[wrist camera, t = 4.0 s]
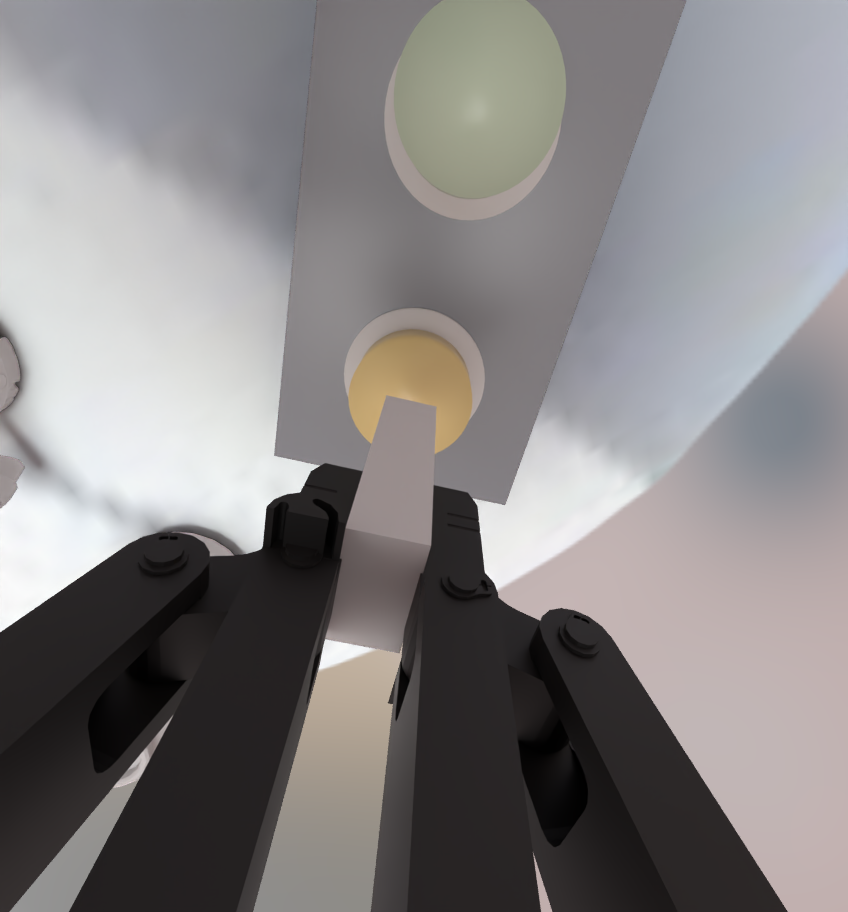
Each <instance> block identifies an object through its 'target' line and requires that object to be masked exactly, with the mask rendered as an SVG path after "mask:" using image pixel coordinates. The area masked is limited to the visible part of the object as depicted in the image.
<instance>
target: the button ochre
mask: <svg viewBox="0 0 848 912" xmlns="http://www.w3.org/2000/svg"><path fill="white" fill-rule="evenodd" d="M386 395H388V396H392V397H397V398H401V399H405V400H410V401H414V402H419V403H423V404H427V405H432V406H436V407H437V408H436V433H435V454H436V453H438V452H440V451H442V450H444V449H445V448H447V447H449V446H450V445H451V444H452V443H454V442H455V441H456V440H457V439H458V438H459V436H460V435H461V434H462V432H463V431H464V429H465V428H466V426H467V424H468V421H469V419H470V415H471V411H472V390H471V383H470V377H469V372H468V369H467V366H466V363H465V361H464V359H463V358H462V356H461V355H460V353H459V352H458V350H457V349H456V348H455V347H454V346H453V345H452V344H451V343H449V342H448V341H447V340H445V339H444V338H442V337H441V336H438V335H436V334H434V333H431V332H428V331H424V330H418V329H407V330H400V331H396V332H393V333H390V334H388V335H386V336H384V337H382V338H380V339H379V340H378V341H376V342H375V343H374V344H373V345H372V346H371V347H370V348H369V349H368V351H367V352H366V353H365V355H364V356H363V358H362V360H361V362H360V364H359V365H358V367H357V369H356V371H355V373H354V374H353V377H352V380H351V383H350V387H349V395H348V400H349V408H350V413H351V416H352V419H353V421H354V423H355V425H356V427H357V428H358V430H359V432H360V433H361V434H362V435H363V436H364V438H365V439H366V440H368V441H369V442H370V443H371V444H372V440H373V437H374V434H375V431H376V427H377V424H378V421H379V418H380V415H381V411H382V408H383V405H384V402H385V398H386Z"/></svg>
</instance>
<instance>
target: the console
mask: <svg viewBox="0 0 848 912" xmlns="http://www.w3.org/2000/svg"><path fill="white" fill-rule="evenodd" d="M441 1H442V0H317V6H316V17H315V28H314V38H313V49H312V60H311V70H310V81H309V91H308V102H307V113H306V123H305V134H304V145H303V155H302V166H301V177H300V187H299V198H298V208H297V219H296V230H295V240H294V251H293V262H292V272H291V283H290V294H289V304H288V315H287V325H286V336H285V347H284V357H283V368H282V379H281V389H280V400H279V411H278V421H277V432H276V442H275V453H274V456H278V457H283V458H288V459H292V460H297V461H302V462H306V463H311V464H316V465H320V466H321V465H322V464H324V463H328V464H332V465H337V466H341V467H346V468H351V469H355V470H360V471H363V470H364V466H365V463H366V460H367V457H368V453H369V450H370V447H371V443H370V442H369V441H368V440H366V439H365V438H364V436H363V435H362V434H361V433H360V432H359V430H358V428H357V427H356V425H355V423H354V421H353V419H352V416H351V413H350V408H349V400H348V395H349V387H350V383H351V380H352V377H353V374H354V373H355V371H356V369H357V367H358V365H359V364H360V362H361V360H362V358H363V356H364V355H365V353H366V352H367V351H368V349H369V348H370V347H371V346H372V345H373V344H374V343H375V342H376V341H378V340H379V339H380V338H382V337H384V336H386V335H388V334H390V333H393V332H396V331H400V330H407V329H418V330H424V331H428V332H431V333H434V334H436V335H438V336H441V337H442V338H444V339H445V340H447V341H448V342H449V343H451V344H452V345H453V346H454V347H455V348H456V349H457V350H458V352H459V353H460V355H461V356H462V358H463V359H464V361H465V363H466V366H467V369H468V372H469V377H470V383H471V390H472V411H471V415H470V419H469V421H468V424H467V426H466V428H465V429H464V431H463V432H462V434H461V435H460V436H459V438H458V439H457V440H456V441H455V442H454V443H452V444H451V445H450V446H449V447H447V448H445V449H444V450H442V451H440V452H438V453H436V454H435V459H434V485H436V486H441V487H445V488H450V489H455V490H459V491H464V492H468V493H469V495H470V496H471V498H474V499H479V500H484V501H488V502H493V503H498V504H502V505H505V504H506V501H507V498H508V496H509V493H510V490H511V487H512V484H513V482H514V479H515V476H516V473H517V471H518V468H519V465H520V462H521V459H522V457H523V454H524V451H525V448H526V446H527V443H528V440H529V437H530V434H531V432H532V429H533V426H534V423H535V420H536V418H537V415H538V412H539V409H540V407H541V404H542V401H543V398H544V395H545V393H546V390H547V387H548V384H549V382H550V379H551V376H552V373H553V370H554V368H555V365H556V362H557V359H558V356H559V354H560V351H561V348H562V345H563V343H564V340H565V337H566V334H567V331H568V329H569V326H570V323H571V320H572V318H573V315H574V312H575V309H576V306H577V304H578V301H579V298H580V295H581V292H582V290H583V287H584V284H585V281H586V279H587V276H588V273H589V270H590V267H591V265H592V262H593V259H594V256H595V253H596V251H597V248H598V245H599V242H600V240H601V237H602V234H603V231H604V228H605V226H606V223H607V220H608V217H609V215H610V212H611V209H612V206H613V203H614V201H615V198H616V195H617V192H618V189H619V187H620V184H621V181H622V178H623V176H624V173H625V170H626V167H627V164H628V162H629V159H630V156H631V153H632V151H633V148H634V145H635V142H636V139H637V137H638V134H639V131H640V128H641V125H642V123H643V120H644V117H645V114H646V112H647V109H648V106H649V103H650V100H651V98H652V95H653V92H654V89H655V87H656V84H657V81H658V78H659V75H660V73H661V70H662V67H663V64H664V61H665V59H666V56H667V53H668V50H669V48H670V45H671V42H672V39H673V36H674V34H675V31H676V28H677V25H678V23H679V20H680V17H681V14H682V11H683V9H684V6H685V3H686V0H526V1H528V2H529V3H530V4H531V5H532V6H534V7H535V8H536V9H537V10H538V11H539V12H540V14H541V15H542V16H543V17H544V18H545V20H546V21H547V23H548V24H549V26H550V27H551V29H552V31H553V33H554V35H555V37H556V39H557V41H558V44H559V47H560V50H561V53H562V57H563V61H564V66H565V75H566V99H565V106H564V112H563V116H562V121H561V124H560V127H559V130H558V133H557V135H556V138H555V140H554V142H553V144H552V146H551V148H550V150H549V151H548V153H547V154H546V156H545V158H544V159H543V160H542V162H541V163H540V164H539V165H538V167H537V168H536V169H535V170H534V171H533V172H532V173H531V174H530V175H529V176H528V177H527V178H525V179H524V180H523V181H522V182H520V183H519V184H517V185H516V186H514V187H512V188H511V189H509V190H507V191H504V192H502V193H500V194H497V195H494V196H490V197H486V198H481V199H463V198H457V197H454V196H451V195H448V194H446V193H444V192H442V191H440V190H438V189H437V188H435V187H434V186H432V185H431V184H430V183H429V182H428V181H427V180H426V179H425V178H423V176H422V175H421V174H420V173H419V171H418V170H417V169H416V167H415V166H414V164H413V163H412V161H411V160H410V158H409V156H408V155H407V153H406V151H405V149H404V146H403V144H402V142H401V139H400V136H399V133H398V129H397V124H396V120H395V112H394V86H395V77H396V72H397V68H398V64H399V61H400V58H401V55H402V52H403V49H404V47H405V45H406V43H407V41H408V39H409V37H410V35H411V34H412V32H413V30H414V29H415V27H416V26H417V24H418V23H419V22H420V21H421V19H422V18H423V17H424V16H425V15H426V14H427V13H428V12H429V11H430V10H431V9H432V8H433V7H434V6H436V5H437V4H438V3H440V2H441Z"/></svg>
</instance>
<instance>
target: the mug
mask: <svg viewBox="0 0 848 912" xmlns="http://www.w3.org/2000/svg"><path fill="white" fill-rule="evenodd" d="M19 381H20V368H19V363H18V359H17V357H16V355H15V352H14V349H13V347H12V345H11V343H10V341H9V340H8V339H7V338H6V337H2V338H0V412H1V411H2V410H3V409H5V408H6V407H8V406H9V405H10V404H11V403H12V401H13V400H14V398H13V397H14V396H16V394H17V392H18V390H19V388H18V387H17V386H16V384H15V382H19ZM24 468H25V467H24V465H23V463H22V462H21V461H20V460H18V459H15V458H12V457H8V456H3V455H0V508H2V507H3V506H4V505H5V504H6V503H7V502H8V501H9V500H10V499H11V498H12V496H13V495H14V493H15V491H16V490H17V488H18V487H17V484H16V481H17V480H18V478H19V476H20V475H21V473H22V472H23V470H24Z"/></svg>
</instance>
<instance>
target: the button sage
mask: <svg viewBox="0 0 848 912" xmlns="http://www.w3.org/2000/svg"><path fill="white" fill-rule="evenodd" d="M565 99H566V75H565V66H564V61H563V57H562V53H561V50H560V47H559V44H558V41H557V39H556V37H555V35H554V33H553V31H552V29H551V27H550V26H549V24H548V23H547V21H546V20H545V18H544V17H543V16H542V15H541V14H540V12H539V11H538V10H537V9H536V8H535V7H534V6H532V5H531V4H530V3H529V2H528V1H526V0H442V1H441V2H440V3H438V4H437V5H436V6H434V7H433V8H432V9H431V10H430V11H429V12H428V13H427V14H426V15H425V16H424V17H423V18H422V19H421V21H420V22H419V23H418V24H417V26H416V27H415V29H414V30H413V32H412V34H411V35H410V37H409V39H408V41H407V43H406V45H405V47H404V49H403V52H402V55H401V58H400V61H399V64H398V68H397V72H396V77H395V86H394V112H395V120H396V124H397V129H398V133H399V136H400V139H401V142H402V144H403V146H404V149H405V151H406V153H407V155H408V156H409V158H410V160H411V161H412V163H413V164H414V166H415V167H416V169H417V170H418V171H419V173H420V174H421V175H422V176H423V178H425V179H426V180H427V181H428V182H429V183H430V184H431V185H432V186H434V187H435V188H437V189H438V190H440V191H442V192H444V193H446V194H448V195H451V196H454V197H457V198H463V199H481V198H486V197H490V196H494V195H497V194H500V193H502V192H504V191H507V190H509V189H511V188H512V187H514V186H516V185H517V184H519V183H520V182H522V181H523V180H524V179H525V178H527V177H528V176H529V175H530V174H531V173H532V172H533V171H534V170H535V169H536V168H537V167H538V165H539V164H540V163H541V162H542V160H543V159H544V158H545V156H546V154H547V153H548V151H549V150H550V148H551V146H552V144H553V142H554V140H555V138H556V135H557V133H558V130H559V127H560V124H561V121H562V116H563V112H564V106H565Z"/></svg>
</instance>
